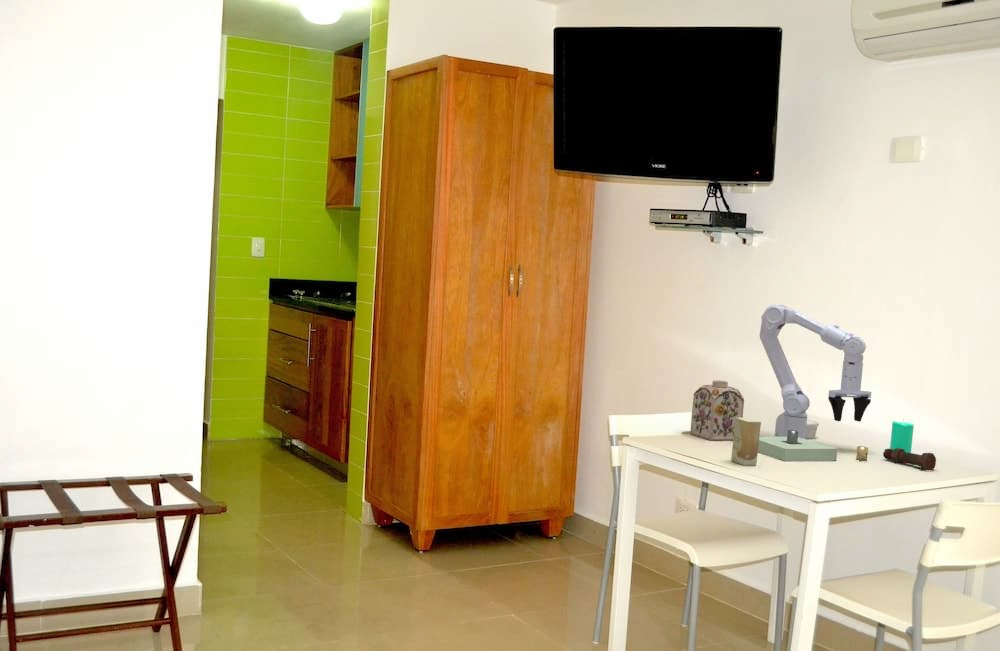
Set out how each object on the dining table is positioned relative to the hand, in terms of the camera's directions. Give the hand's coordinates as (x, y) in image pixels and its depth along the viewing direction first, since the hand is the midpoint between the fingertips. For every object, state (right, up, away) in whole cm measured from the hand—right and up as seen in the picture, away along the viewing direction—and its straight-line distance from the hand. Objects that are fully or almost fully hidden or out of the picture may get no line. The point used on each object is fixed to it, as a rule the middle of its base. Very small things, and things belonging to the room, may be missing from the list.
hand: (847, 420), depth 292 cm
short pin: (-1, -10, -13) cm, 17 cm away
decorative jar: (-38, -6, +10) cm, 40 cm away
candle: (+15, -11, -3) cm, 18 cm away
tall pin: (-21, -9, -11) cm, 25 cm away
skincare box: (-39, -9, -30) cm, 50 cm away
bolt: (+12, -12, -15) cm, 22 cm away
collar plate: (-21, -9, -11) cm, 25 cm away
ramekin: (-7, -8, +24) cm, 26 cm away
